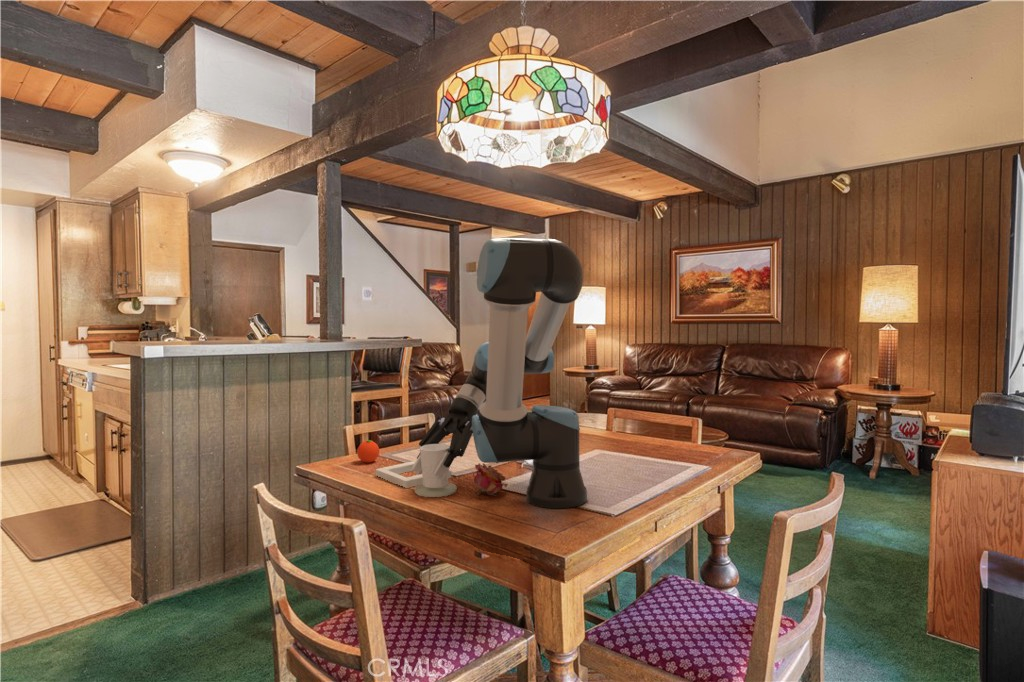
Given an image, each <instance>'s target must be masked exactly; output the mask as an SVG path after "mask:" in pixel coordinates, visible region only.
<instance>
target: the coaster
mask: <svg viewBox="0 0 1024 682" xmlns="http://www.w3.org/2000/svg"><path fill="white" fill-rule="evenodd" d="M456 492H457V485H456V484H454V483H451V482H448V485H446V486H444V487H440V488H428V487H425V486H423V484H422V485H419V486H415V488H414V494H415V493H416V494H417V495H416V494H415V495H416V496H418V495H419V496H418V497H421V496H424V497H423V498H427V497H437V498H443V497H442V496H444V497H448V495H449V496H451V495H454V494H455V493H456Z"/></svg>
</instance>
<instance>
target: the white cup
mask: <svg viewBox="0 0 1024 682" xmlns="http://www.w3.org/2000/svg"><path fill="white" fill-rule="evenodd" d="M449 448H450V444H446V443H438V444H429V445H424V446H422V447H421V446H420V447H419V453H420V457H421V474H422V476H423V486H425V487H428V488H440V487H444V486H446V485H448V483H449V479H450V478H449V470H450V467H451V466H450V467H449V468H447V470H446V471H445V473H444V475H443V477H442V479H441V480H440V479H438V478H437V477H436V476H435V475H434V474H433V473H434V471H435V470H436V468H437V466H438V464H439V463H440V461H441V459H442V458H443V456H444V455H445V453H446V452H447V453H449V452H448V451H449ZM447 450H448V451H447Z"/></svg>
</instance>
